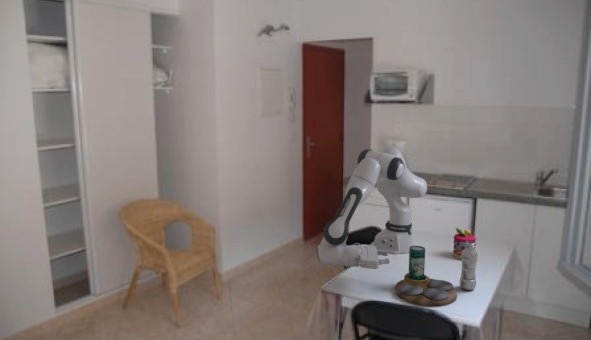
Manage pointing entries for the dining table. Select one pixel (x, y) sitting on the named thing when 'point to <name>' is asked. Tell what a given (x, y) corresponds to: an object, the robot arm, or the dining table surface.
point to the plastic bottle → (468, 266)
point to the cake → (461, 242)
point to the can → (416, 263)
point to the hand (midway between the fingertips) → (388, 257)
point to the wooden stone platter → (426, 291)
